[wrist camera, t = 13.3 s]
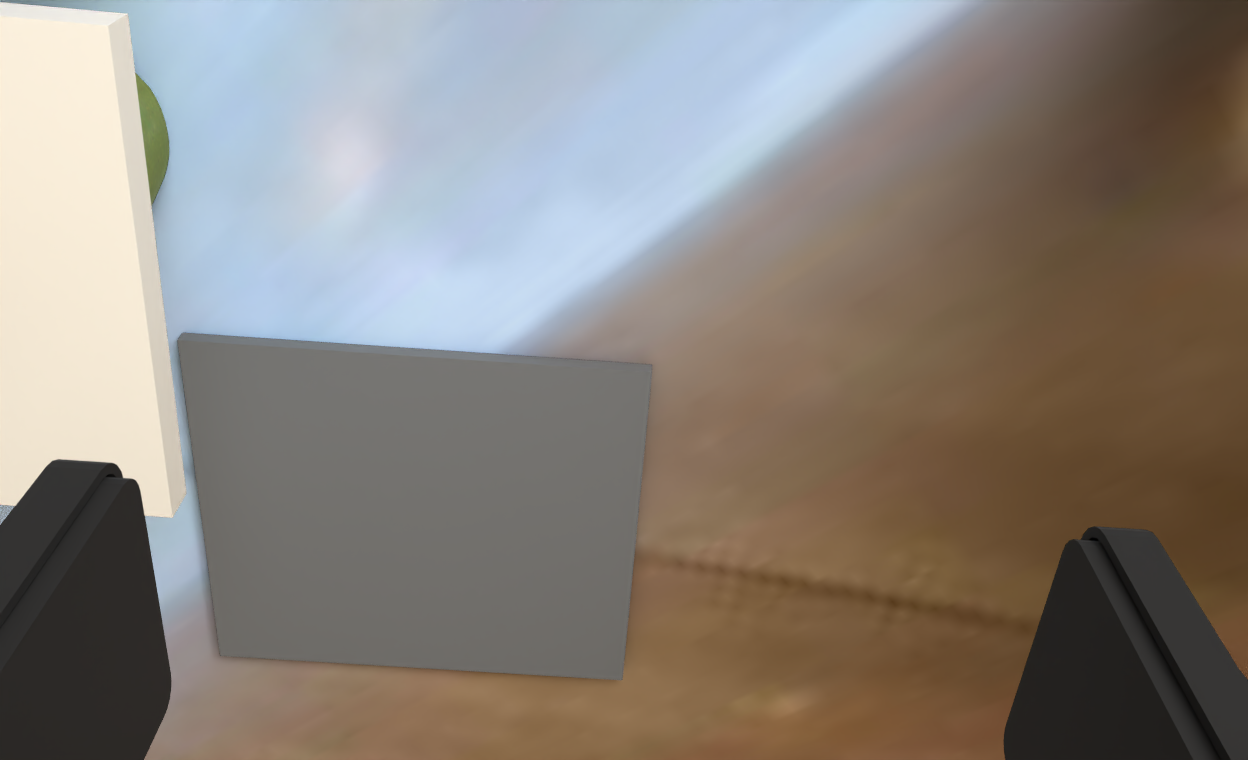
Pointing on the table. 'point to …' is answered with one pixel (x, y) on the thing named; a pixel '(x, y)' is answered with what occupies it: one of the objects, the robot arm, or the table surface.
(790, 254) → the table surface
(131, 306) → the lid
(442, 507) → the mat
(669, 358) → the table surface
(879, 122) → the table surface
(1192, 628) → the robot arm
